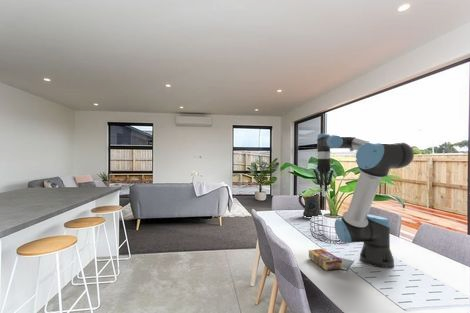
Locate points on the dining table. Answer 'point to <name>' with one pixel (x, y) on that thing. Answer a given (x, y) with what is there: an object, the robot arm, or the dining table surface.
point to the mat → (345, 263)
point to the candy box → (325, 259)
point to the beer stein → (311, 206)
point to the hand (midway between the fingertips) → (324, 196)
